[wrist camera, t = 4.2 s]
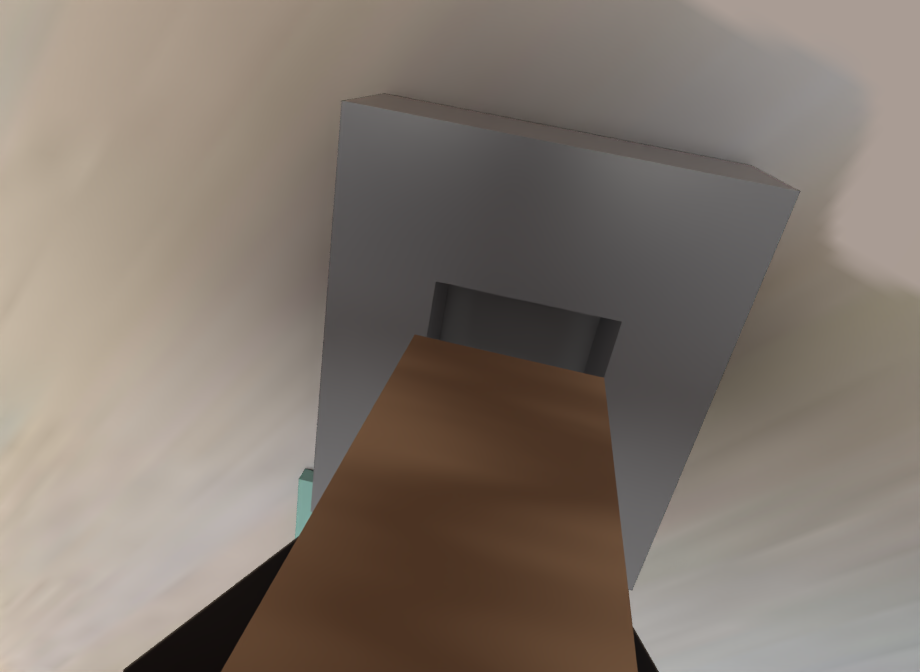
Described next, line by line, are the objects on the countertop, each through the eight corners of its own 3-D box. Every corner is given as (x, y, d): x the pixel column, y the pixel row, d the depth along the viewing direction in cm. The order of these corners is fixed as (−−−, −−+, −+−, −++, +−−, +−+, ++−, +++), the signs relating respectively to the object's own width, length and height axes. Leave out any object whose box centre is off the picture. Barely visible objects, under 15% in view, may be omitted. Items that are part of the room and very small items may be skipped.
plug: (610, 374, 12) (685, 927, 4) (560, 528, 14) (550, 1111, 6) (410, 328, 12) (148, 766, 5) (387, 485, 14) (170, 986, 6)
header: (751, 165, 16) (800, 191, 12) (620, 510, 21) (632, 590, 18) (384, 93, 16) (341, 100, 13) (346, 445, 21) (310, 511, 18)
